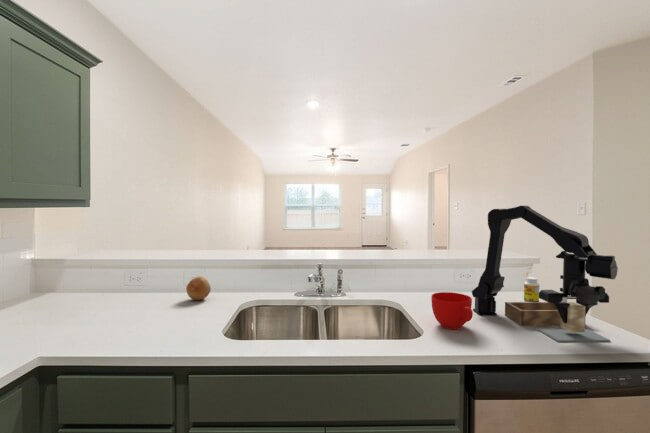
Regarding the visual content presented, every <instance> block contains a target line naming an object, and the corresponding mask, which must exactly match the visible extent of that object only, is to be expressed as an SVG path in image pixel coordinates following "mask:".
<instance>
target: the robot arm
mask: <svg viewBox="0 0 650 433" xmlns="http://www.w3.org/2000/svg"><path fill="white" fill-rule="evenodd" d="M518 219H522V220H524V221H526V222H527V223H529V224H530V225H531V226H534V227H535V228H537V229H539V230H540V231H542V232H543V233H545V234H546V235H548V236H549V237H551V238H552V239H553V240H554V242H555V243H556V244H557V245H558V246H559V247H560V248H561V249H562V251H560V253H558V254H557V255H556V256H555V258H556V259H561V260H563V266H562V268H563V269H562V274H561V275H559V276H560V278H559V279H561V280H562V287H560V288H559V292H558V291H556V290H553V289H540V290H539V300H542V301H543V302H549V303H554V304H555V306H556V308H557V310H558V312H559V314H560V316H561V318H562V321H563V323H565V324H566V323H567V315H568V307H569V306H570V304H569V303H567V302H568V300H575V302H576V303H578V304H581V305H583V306H585V316H587V314H588V313H589V311H590V310H591V308H592V307H595V306H598V303H599V304H600V303H601V304H602V303H603V304H605V303H606V304H609V303H610V295H609V294H608V293H607V292H606V288H605V287H604V286H601V285H600V286H598V285H596V286H591V285H590V282H589V278H587V277H586V274H587V275H588V276H590V277H592V278H593V277H594V278H599V279H600V278H601V279H608V280H615V279H616V277H617V275H618V270H619V269H618V266H617V261H616V256H615V255H600V254H597V253H596V252H595V250H594V249H593V247H592V246H591V245H590V244H589V243H590V242H589V241H590V240H589V238H588V237H587V236H586V235H585V234H583V233H581V232H578V231H575V230H572V229H569V228H567V227H563V226H561V225H559V224H557V223H556V222H555V221H553V220H551V219H550V218H547V217H546V216H545V215H542V214H541V213H539V212H538V211H537V210H534V209H533V208H531V206H529V205H518V206H515V207H509V208H494V209H493V208H492V209H491V210H490V211H489V212H488V214H487V226H488V229H489V231H490V232H489V233H490V234H489V241H488V247H487V253H486V254H487V256H486V262H485V269H484V271H483V272H482V274H481V275H480V278H479V281H478V283H477V286H476V287H475V288H474V289H472V290H471V294H472V297H473V298H474V308H472V311H474V312H475V313H476V314H478V315H479V316H487V315H488V316H490V315H491V316H497V312H496V311H497V301H496V298H495V297H497V295H498V293H500V291H501V290H502V288H505V285H504V282H505V276H502V275H501V272H500V268H501V263H502V255H503V248H504V241H505V234H506V232H507V231H508V229H509V227H510V226H511V223H512V220H518Z"/></svg>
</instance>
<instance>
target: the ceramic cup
mask: <svg viewBox="0 0 650 433" xmlns="http://www.w3.org/2000/svg"><path fill="white" fill-rule="evenodd" d="M430 302H431V309H432V312H433V315H434V318H435V320H436V321H437V322H438V324H440V326H441V328H444V329H446V330H447V329H448V330H460V329H461V328H462V327H463V326H464V325H465V324H466V323H467V322H470V321H471V320H472V318H473V309H472V304H473V303H472V302H473V298H472V297H471V296H470V295H467V294H464V293H458V292H450V291H449V292H448V291H444V292H443V291H442V292H434V293H433V294H431V301H430Z"/></svg>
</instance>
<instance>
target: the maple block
mask: <svg viewBox="0 0 650 433" xmlns="http://www.w3.org/2000/svg"><path fill="white" fill-rule="evenodd" d="M567 303H569V304H570V306H569V307H568V315H567V323H566V324H565V323H563V321H562V318H561V325H560V329H565V330H567V331H569V332H585V328H586V319H585V306H583V305H581V304H578V303H576V301H574V302H569V301H567Z"/></svg>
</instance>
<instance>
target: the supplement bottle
mask: <svg viewBox="0 0 650 433" xmlns="http://www.w3.org/2000/svg"><path fill="white" fill-rule="evenodd" d="M539 292H540V283H539V282H538V278H537V277H533V276H532V277H531V276H528V277H526V281H524V284H523V302H540V298H539Z"/></svg>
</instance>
